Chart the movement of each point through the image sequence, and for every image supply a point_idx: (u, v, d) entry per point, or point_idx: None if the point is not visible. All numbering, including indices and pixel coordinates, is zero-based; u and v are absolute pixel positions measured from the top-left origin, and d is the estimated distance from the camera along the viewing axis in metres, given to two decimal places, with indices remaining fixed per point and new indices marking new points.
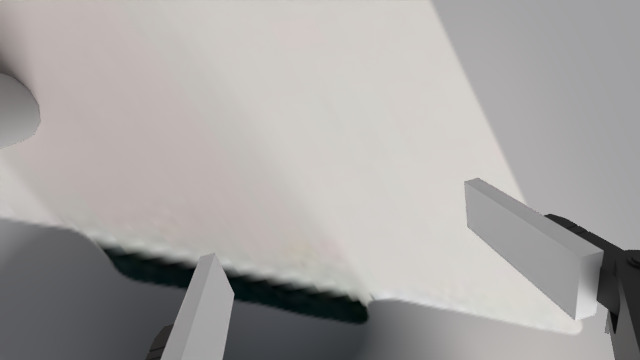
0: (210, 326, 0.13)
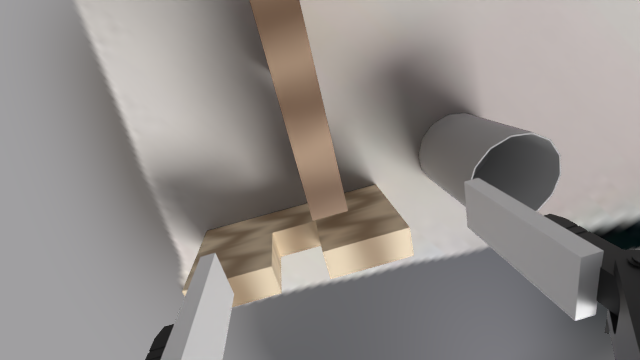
0: (210, 326, 0.13)
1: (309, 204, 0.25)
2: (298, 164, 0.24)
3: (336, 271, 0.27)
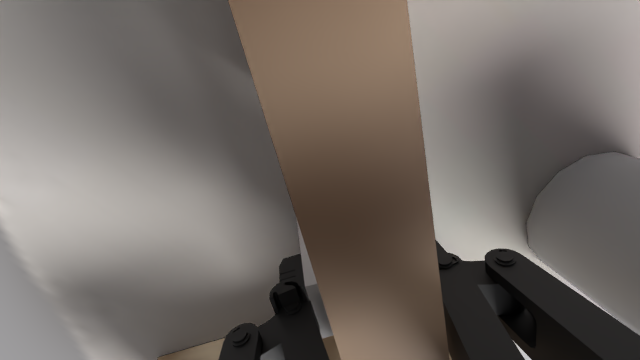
0: None
1: None
2: (343, 350, 0.08)
3: None
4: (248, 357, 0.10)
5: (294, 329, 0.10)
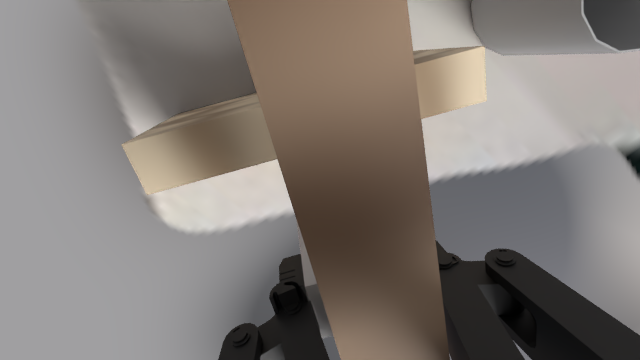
0: None
1: None
2: (344, 352, 0.08)
3: None
4: (248, 357, 0.10)
5: (294, 329, 0.10)
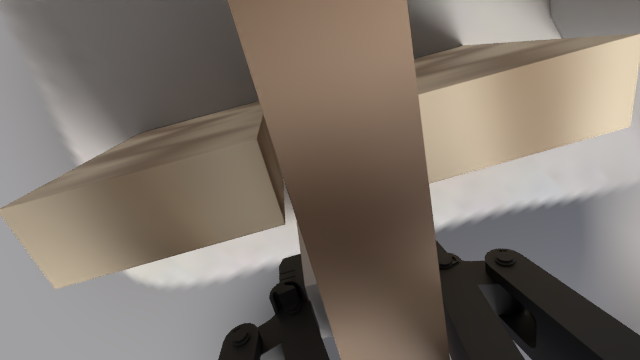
0: None
1: None
2: (344, 352, 0.08)
3: (430, 164, 0.10)
4: (248, 357, 0.10)
5: (294, 329, 0.10)
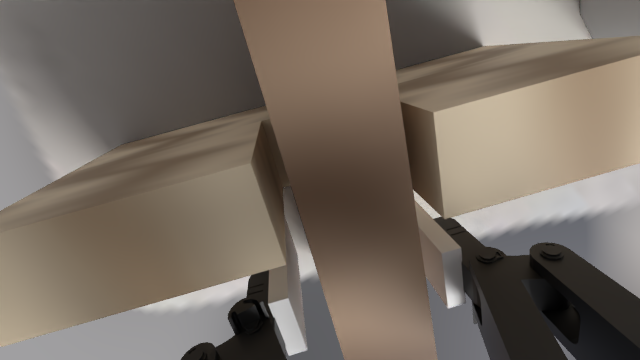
0: (293, 271, 0.14)
1: None
2: (337, 320, 0.09)
3: (465, 191, 0.08)
4: None
5: (255, 348, 0.10)
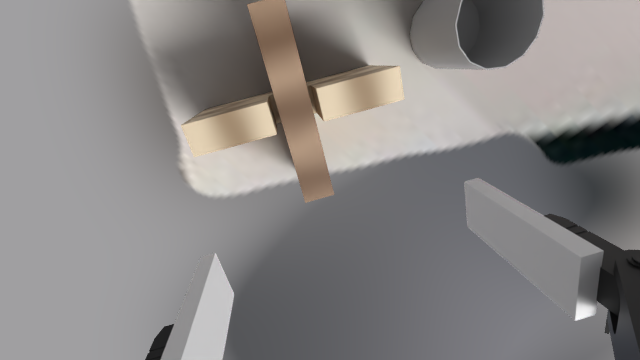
0: (210, 326, 0.13)
1: (302, 189, 0.31)
2: (293, 156, 0.29)
3: (329, 112, 0.28)
4: None
5: None
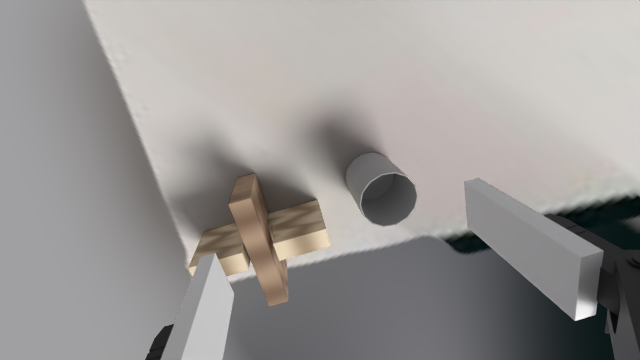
0: (210, 326, 0.13)
1: (267, 298, 0.47)
2: (260, 281, 0.46)
3: (282, 256, 0.45)
4: None
5: None
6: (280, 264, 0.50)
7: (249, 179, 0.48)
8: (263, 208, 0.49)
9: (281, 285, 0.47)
